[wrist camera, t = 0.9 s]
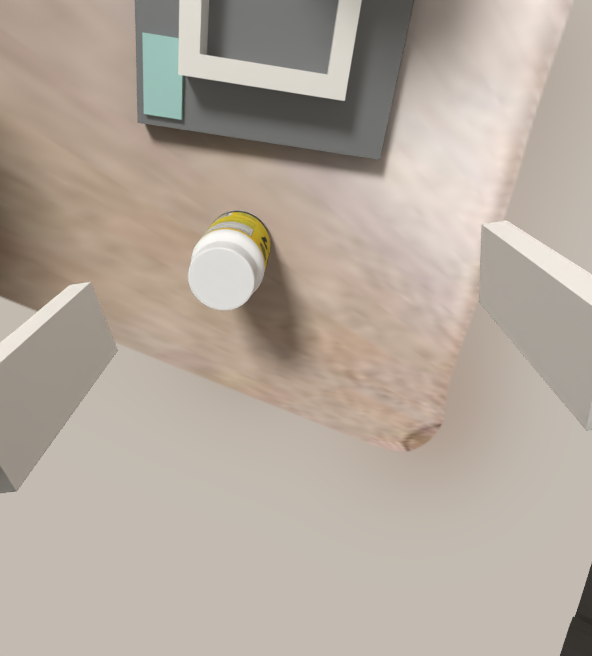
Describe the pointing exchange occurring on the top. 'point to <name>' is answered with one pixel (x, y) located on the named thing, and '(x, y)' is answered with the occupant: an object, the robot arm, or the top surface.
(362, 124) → the dock
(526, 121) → the top surface
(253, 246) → the supplement bottle
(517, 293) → the robot arm
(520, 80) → the top surface
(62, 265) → the top surface
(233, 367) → the top surface
